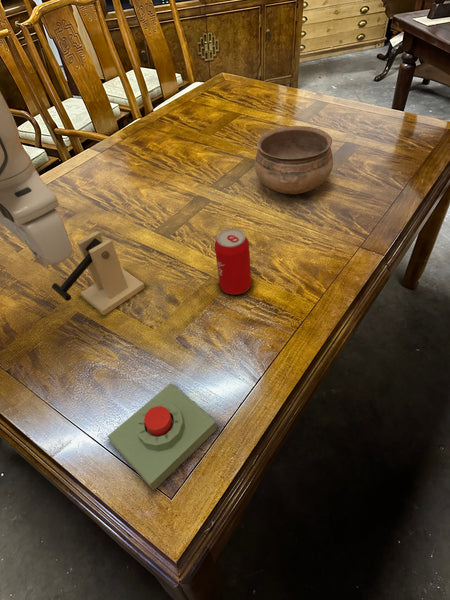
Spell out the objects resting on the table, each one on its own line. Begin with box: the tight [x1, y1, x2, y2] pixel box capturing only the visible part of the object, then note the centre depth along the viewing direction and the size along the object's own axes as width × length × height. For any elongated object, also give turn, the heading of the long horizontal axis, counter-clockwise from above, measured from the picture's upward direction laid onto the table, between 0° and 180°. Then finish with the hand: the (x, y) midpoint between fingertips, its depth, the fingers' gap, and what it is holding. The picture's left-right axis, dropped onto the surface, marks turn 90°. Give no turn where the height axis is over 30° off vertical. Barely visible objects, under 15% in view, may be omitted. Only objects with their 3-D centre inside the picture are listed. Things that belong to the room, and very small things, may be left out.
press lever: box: [51, 238, 102, 302], centre depth 76 cm, size 12×5×2 cm, turn 136°
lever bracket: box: [76, 230, 146, 316], centre depth 80 cm, size 10×8×13 cm
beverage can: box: [214, 228, 252, 295], centre depth 78 cm, size 6×6×12 cm
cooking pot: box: [254, 125, 334, 196], centre depth 103 cm, size 25×19×12 cm
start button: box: [144, 406, 172, 436], centre depth 58 cm, size 4×4×2 cm
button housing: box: [107, 382, 218, 492], centre depth 60 cm, size 12×10×4 cm
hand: (44, 261), depth 70 cm, fingers closed
